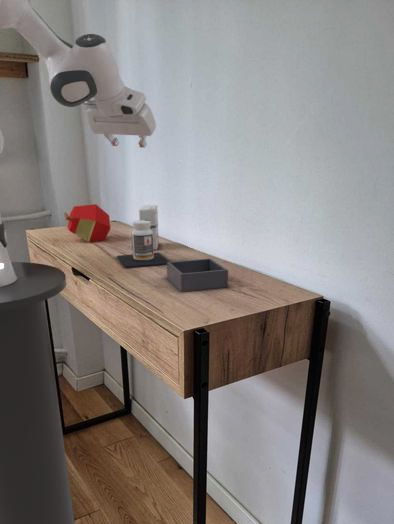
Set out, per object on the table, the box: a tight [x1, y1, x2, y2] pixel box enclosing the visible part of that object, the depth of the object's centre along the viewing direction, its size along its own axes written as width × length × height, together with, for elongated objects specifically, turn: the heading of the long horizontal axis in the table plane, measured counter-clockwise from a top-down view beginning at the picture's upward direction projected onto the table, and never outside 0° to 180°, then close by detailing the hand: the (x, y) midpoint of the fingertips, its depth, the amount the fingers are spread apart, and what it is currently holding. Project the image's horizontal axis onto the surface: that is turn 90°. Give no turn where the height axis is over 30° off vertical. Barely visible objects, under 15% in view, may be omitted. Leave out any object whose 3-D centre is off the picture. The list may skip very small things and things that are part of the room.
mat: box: [116, 252, 170, 269], centre depth 132 cm, size 12×12×1 cm
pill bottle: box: [131, 220, 155, 261], centre depth 130 cm, size 6×6×10 cm
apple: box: [63, 203, 111, 243], centre depth 154 cm, size 12×12×15 cm
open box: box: [166, 258, 229, 293], centre depth 113 cm, size 11×11×4 cm
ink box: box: [138, 204, 160, 250], centre depth 145 cm, size 8×5×12 cm, turn 0°
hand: (129, 145), depth 141 cm, fingers open, 8 cm apart
